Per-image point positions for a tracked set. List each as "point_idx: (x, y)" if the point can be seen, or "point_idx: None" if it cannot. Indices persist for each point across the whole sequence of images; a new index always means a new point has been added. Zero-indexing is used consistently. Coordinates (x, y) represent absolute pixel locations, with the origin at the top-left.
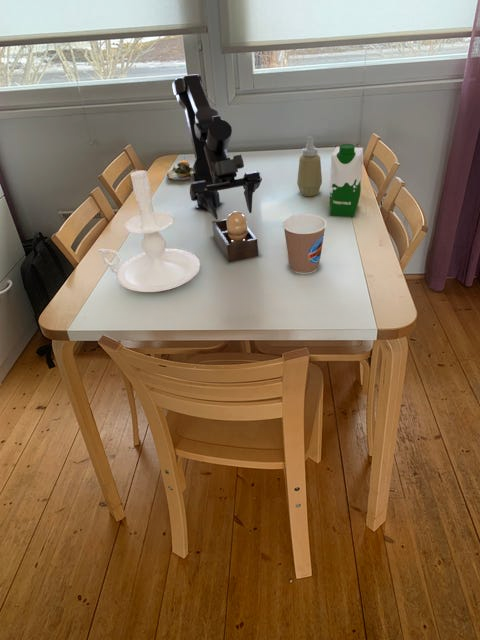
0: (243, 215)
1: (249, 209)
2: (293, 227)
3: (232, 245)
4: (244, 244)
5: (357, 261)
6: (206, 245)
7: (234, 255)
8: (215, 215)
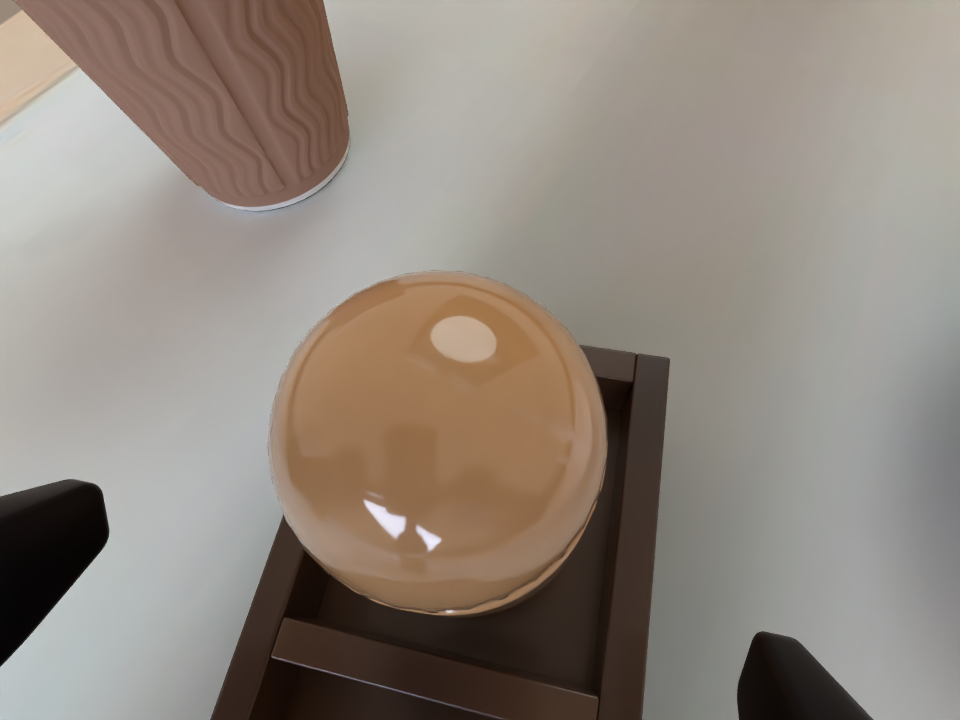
0: (323, 318)
1: (56, 519)
2: (107, 10)
3: (609, 352)
4: None
5: (61, 92)
6: None
7: None
8: (826, 682)
